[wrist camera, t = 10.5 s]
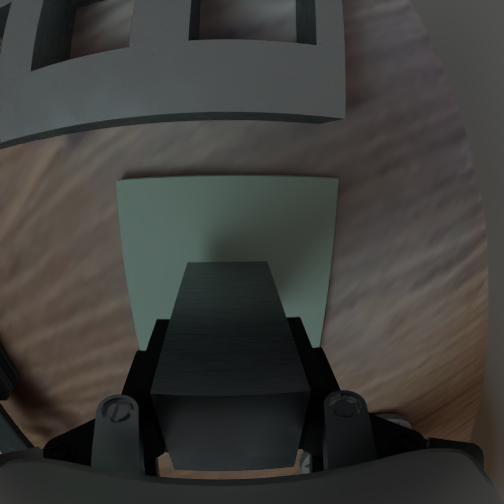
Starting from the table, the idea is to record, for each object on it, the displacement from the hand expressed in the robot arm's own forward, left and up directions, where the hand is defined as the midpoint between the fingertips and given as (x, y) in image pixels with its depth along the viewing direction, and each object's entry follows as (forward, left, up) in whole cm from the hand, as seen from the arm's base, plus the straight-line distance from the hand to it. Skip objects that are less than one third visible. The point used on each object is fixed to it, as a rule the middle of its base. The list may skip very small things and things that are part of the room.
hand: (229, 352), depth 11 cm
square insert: (0, 0, -5) cm, 5 cm away
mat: (0, 0, -7) cm, 7 cm away
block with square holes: (+7, -15, -7) cm, 18 cm away
